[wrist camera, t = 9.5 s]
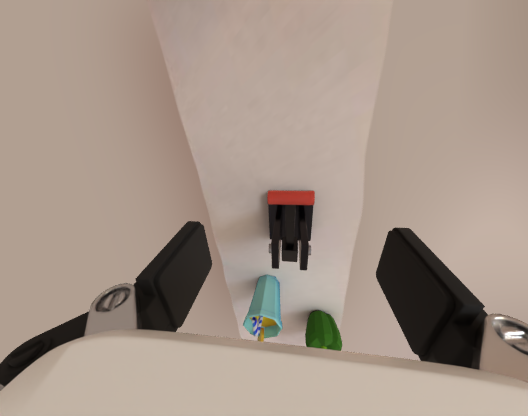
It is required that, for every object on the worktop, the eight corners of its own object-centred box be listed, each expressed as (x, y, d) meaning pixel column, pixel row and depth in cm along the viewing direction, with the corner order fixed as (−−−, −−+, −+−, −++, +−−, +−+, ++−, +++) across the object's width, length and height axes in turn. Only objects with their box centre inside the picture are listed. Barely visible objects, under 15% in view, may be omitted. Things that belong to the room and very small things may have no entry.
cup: (248, 257, 43) (229, 322, 30) (282, 257, 42) (278, 326, 29) (255, 298, 50) (242, 367, 36) (285, 300, 48) (283, 372, 35)
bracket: (268, 191, 35) (258, 226, 25) (313, 191, 34) (322, 228, 24) (270, 235, 40) (262, 281, 29) (309, 237, 39) (316, 285, 28)
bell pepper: (328, 302, 47) (337, 348, 38) (341, 322, 50) (352, 368, 41) (297, 310, 50) (298, 354, 41) (311, 328, 52) (315, 373, 44)
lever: (268, 185, 22) (266, 199, 20) (313, 185, 21) (315, 199, 19) (273, 247, 30) (272, 260, 29) (306, 248, 30) (306, 262, 28)
